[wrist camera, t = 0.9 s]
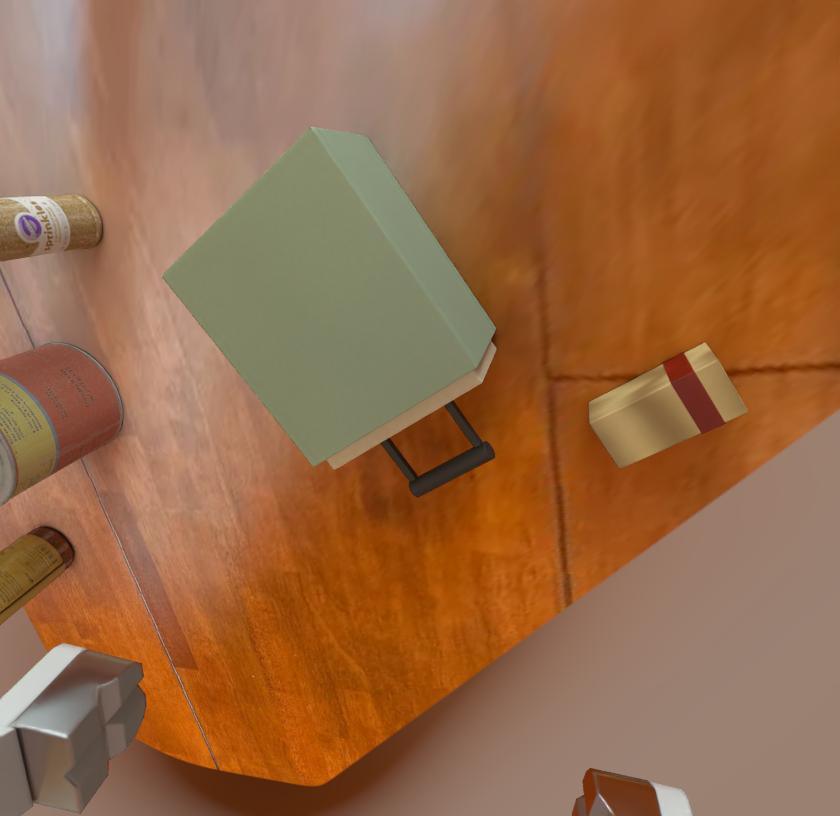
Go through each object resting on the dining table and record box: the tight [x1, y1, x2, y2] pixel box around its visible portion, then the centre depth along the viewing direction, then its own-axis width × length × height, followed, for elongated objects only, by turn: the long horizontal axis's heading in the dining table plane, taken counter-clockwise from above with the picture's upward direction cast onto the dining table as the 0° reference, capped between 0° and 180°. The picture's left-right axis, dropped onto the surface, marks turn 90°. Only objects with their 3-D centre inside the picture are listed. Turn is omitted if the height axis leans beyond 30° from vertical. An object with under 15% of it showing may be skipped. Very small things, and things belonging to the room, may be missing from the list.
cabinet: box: [162, 127, 496, 467], centre depth 39 cm, size 17×15×9 cm
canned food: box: [0, 343, 123, 506], centre depth 50 cm, size 11×11×12 cm
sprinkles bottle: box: [0, 194, 102, 261], centre depth 41 cm, size 5×5×14 cm
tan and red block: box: [589, 343, 748, 469], centre depth 38 cm, size 9×4×4 cm, turn 126°
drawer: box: [326, 341, 497, 497], centre depth 40 cm, size 21×13×7 cm, turn 36°
